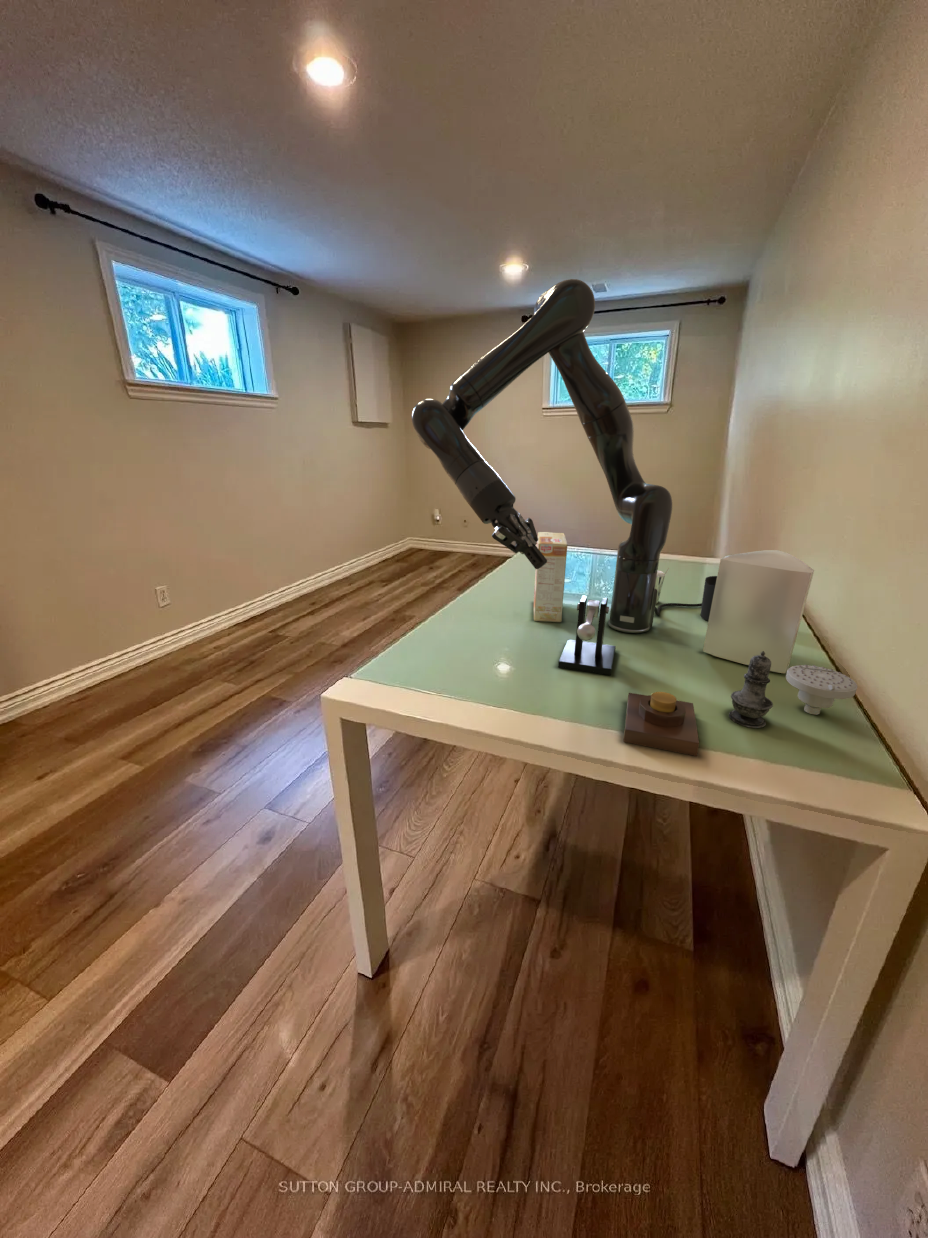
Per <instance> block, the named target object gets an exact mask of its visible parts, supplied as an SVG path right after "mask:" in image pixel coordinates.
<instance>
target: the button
mask: <svg viewBox="0 0 928 1238" xmlns="http://www.w3.org/2000/svg"><path fill="white" fill-rule="evenodd" d="M650 695H651V701H650V707H651V708H653V709H655V710H657V711H660V712H666V713H668V712H674V711H675V706H676V701H677V697H676V696H675V695H673V694H671V693H668V692H665V691H655V692H652V693H651V694H650Z"/></svg>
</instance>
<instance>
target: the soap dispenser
mask: <svg viewBox="0 0 928 1238" xmlns="http://www.w3.org/2000/svg"><path fill="white" fill-rule="evenodd" d="M814 573H815V569H814V568H812V567H811V566H809V565H808V564H807V563H805V561H803V560H802V559H800V558H798V557H796V556H795V555H793V554H791V553H789V552H786V551H782V550H779V549H763V550H755V551H748V552H742V553H734V554H729V555H726V556H723V557H721V558H720V561H719V565H718V570H717V575H716V576H717V580H716V585H715V590H714V595H713V600H712V606H711V611H710V616H709V621H707V626H706V632H705V637H704V642H703V647H702V652H704V653H706V654H708V655H711V656H713V657H717V658H720V659H724V660H727V661H731V662H735V663H739V664H743V665H746V666H749V664H750V660H751V658H752V657H754V656H757V655H761V652H763V651H764V652H765V655H764V656H765V657H767V658H769V659H770V661H771V668H770V672H773V673H779V674H780V673H781V674H785V675H786V674H787V670H788V668H790V664H791V660H792V656H793V652H794V649H795V645H796V640H797V637H798V634H799V629H800V625H801V621H802V618H803V615H804V611H805V606H806V603H807V600H808V595H809V591H810V588H811V584H812V580H813V576H814Z"/></svg>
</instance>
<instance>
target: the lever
mask: <svg viewBox="0 0 928 1238" xmlns="http://www.w3.org/2000/svg"><path fill="white" fill-rule="evenodd" d="M600 606H601V600H597V599H587V604H586V614H585V617H586V618H585V623H583V624H581V625H580V626H579V627H578V629H577V628H576V632H577V634H578V637H579V638H580V639H582V640H583V641H584V642H590V641H591V640H592V639H594V638H595V636H596V628H595V626H594V625H593V623H594V618H599V614H600Z"/></svg>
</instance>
